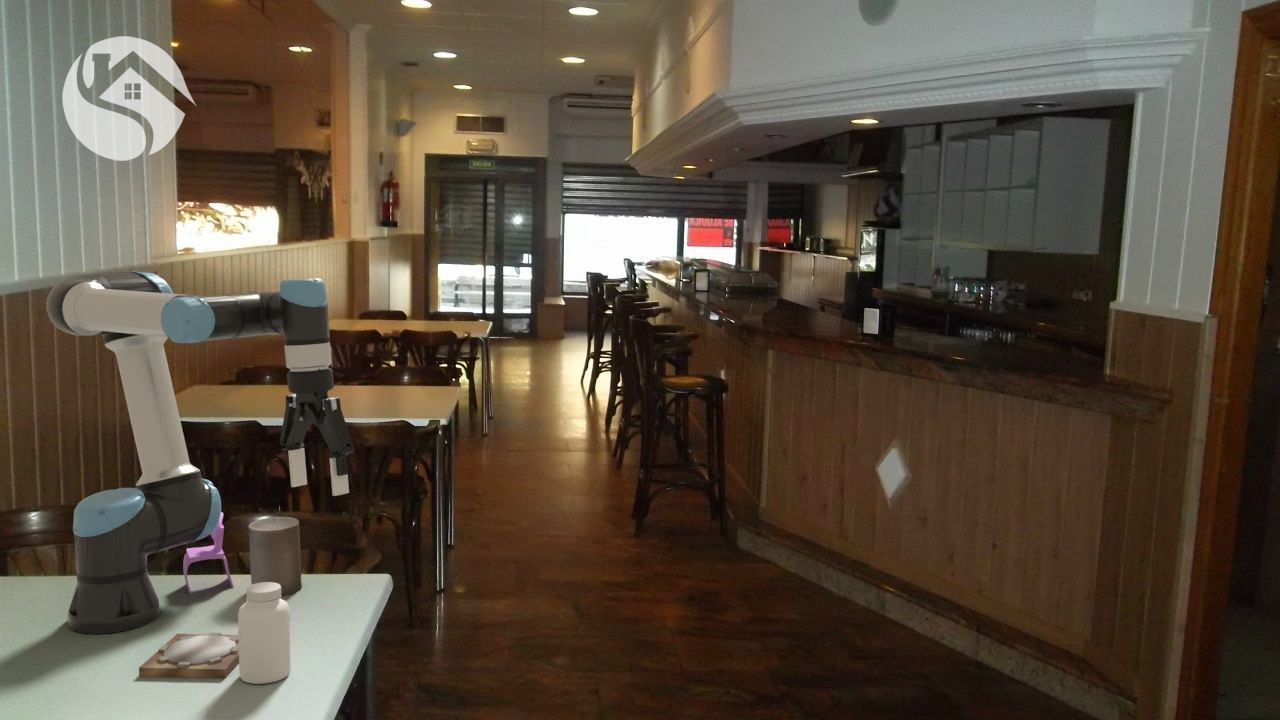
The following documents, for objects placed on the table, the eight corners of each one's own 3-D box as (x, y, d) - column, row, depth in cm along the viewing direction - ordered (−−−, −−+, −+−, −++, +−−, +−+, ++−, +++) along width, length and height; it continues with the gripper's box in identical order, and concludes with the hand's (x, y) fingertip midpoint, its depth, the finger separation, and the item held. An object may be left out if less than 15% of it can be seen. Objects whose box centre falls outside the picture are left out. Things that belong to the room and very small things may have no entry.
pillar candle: (310, 582, 214) (308, 511, 212) (286, 599, 205) (283, 525, 203) (266, 579, 216) (263, 509, 214) (241, 596, 206) (237, 522, 204)
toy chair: (183, 582, 213) (180, 511, 211) (229, 576, 217) (226, 506, 215) (187, 596, 206) (184, 522, 204) (234, 589, 210) (232, 516, 208)
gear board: (139, 676, 170) (138, 664, 169) (177, 641, 184) (176, 630, 183) (225, 678, 170) (225, 666, 169) (256, 643, 184) (256, 632, 183)
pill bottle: (301, 672, 172) (299, 584, 170) (260, 690, 166) (258, 599, 164) (270, 660, 177) (267, 575, 175) (229, 677, 170) (226, 589, 168)
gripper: (369, 368, 174) (378, 493, 176) (292, 364, 191) (301, 478, 193) (329, 373, 168) (339, 502, 170) (253, 368, 185) (263, 486, 187)
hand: (319, 490), depth 181 cm, fingers open, 13 cm apart
